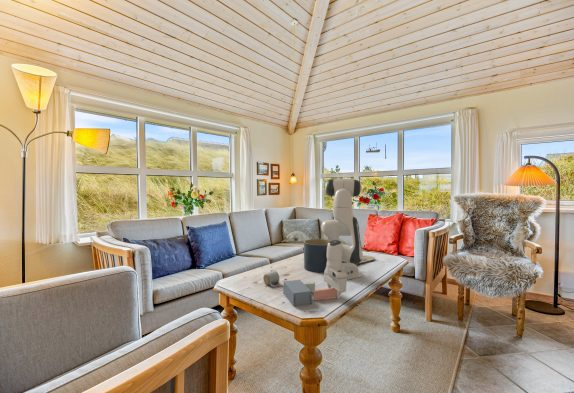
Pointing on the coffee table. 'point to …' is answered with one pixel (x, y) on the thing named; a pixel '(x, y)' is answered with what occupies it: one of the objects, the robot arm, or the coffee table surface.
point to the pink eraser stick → (325, 293)
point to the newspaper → (366, 259)
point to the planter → (315, 255)
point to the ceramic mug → (271, 279)
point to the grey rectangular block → (297, 292)
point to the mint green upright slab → (310, 286)
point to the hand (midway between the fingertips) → (334, 294)
